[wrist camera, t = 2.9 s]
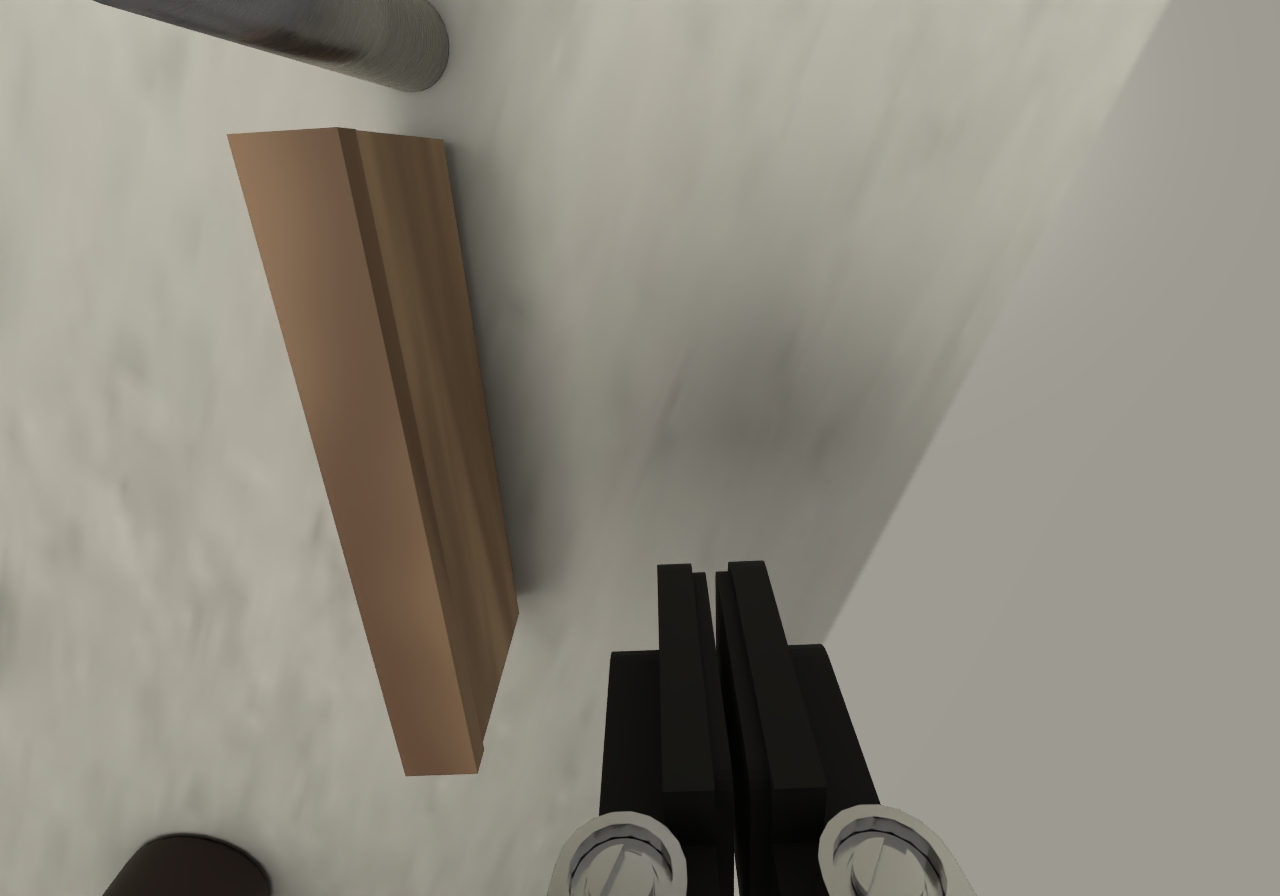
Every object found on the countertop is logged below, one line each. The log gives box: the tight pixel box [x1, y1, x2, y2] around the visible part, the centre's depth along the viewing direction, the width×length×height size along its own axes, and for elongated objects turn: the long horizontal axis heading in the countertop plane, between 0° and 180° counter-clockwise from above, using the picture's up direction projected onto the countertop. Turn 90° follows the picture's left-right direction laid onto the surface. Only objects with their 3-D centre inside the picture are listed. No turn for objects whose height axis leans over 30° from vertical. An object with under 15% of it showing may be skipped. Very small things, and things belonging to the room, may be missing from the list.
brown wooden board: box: [227, 127, 519, 776], centre depth 18 cm, size 2×16×7 cm, turn 3°
